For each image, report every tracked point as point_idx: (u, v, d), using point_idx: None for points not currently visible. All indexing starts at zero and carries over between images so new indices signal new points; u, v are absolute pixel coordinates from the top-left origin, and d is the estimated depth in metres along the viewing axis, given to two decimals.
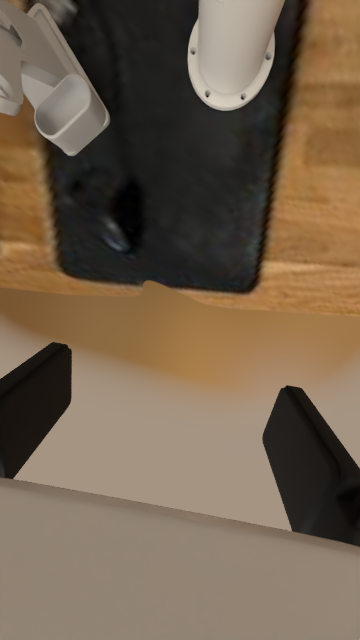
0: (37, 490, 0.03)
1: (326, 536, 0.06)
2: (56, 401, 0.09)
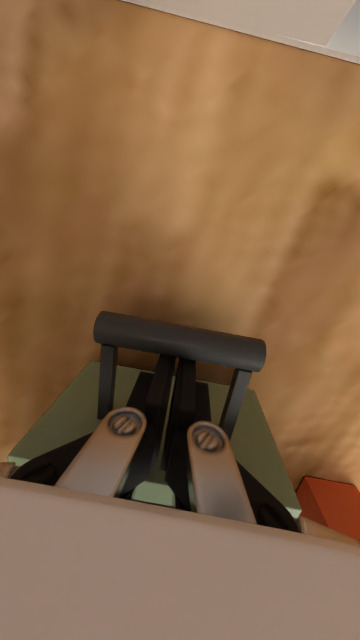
0: (37, 490, 0.03)
1: (168, 462, 0.07)
2: None
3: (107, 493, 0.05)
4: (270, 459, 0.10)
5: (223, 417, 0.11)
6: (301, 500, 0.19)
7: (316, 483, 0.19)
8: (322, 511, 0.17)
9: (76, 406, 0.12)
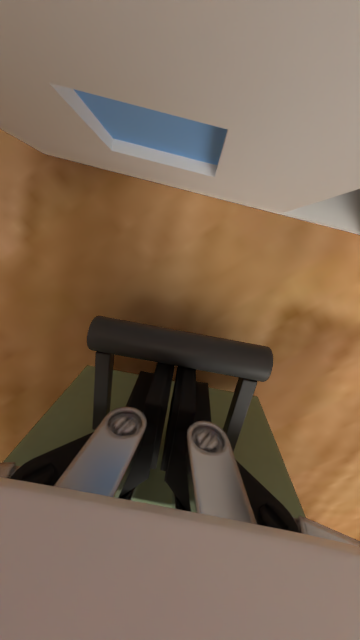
0: (37, 490, 0.03)
1: (168, 462, 0.07)
2: None
3: (107, 493, 0.05)
4: (276, 473, 0.10)
5: (226, 428, 0.10)
6: None
7: None
8: None
9: (70, 415, 0.11)
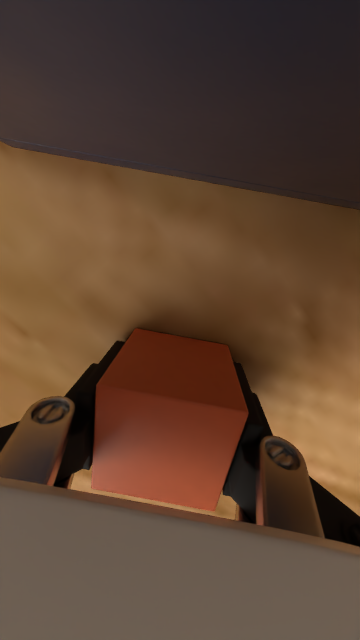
0: (37, 490, 0.03)
1: (234, 477, 0.07)
2: None
3: (43, 475, 0.05)
4: None
5: None
6: (188, 345, 0.10)
7: None
8: (238, 380, 0.08)
9: None
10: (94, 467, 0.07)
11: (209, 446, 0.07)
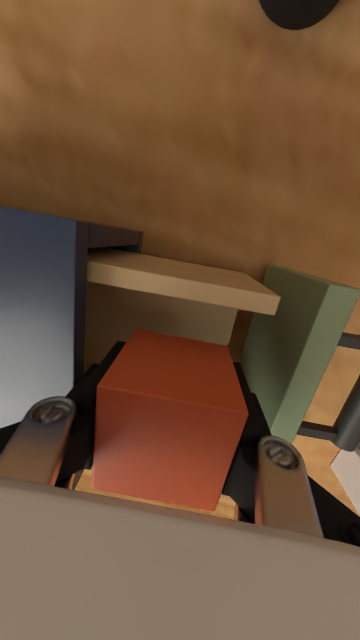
0: (37, 490, 0.03)
1: (233, 476, 0.07)
2: None
3: (44, 475, 0.05)
4: None
5: None
6: (189, 346, 0.10)
7: None
8: (238, 381, 0.08)
9: None
10: (95, 468, 0.07)
11: (209, 447, 0.07)
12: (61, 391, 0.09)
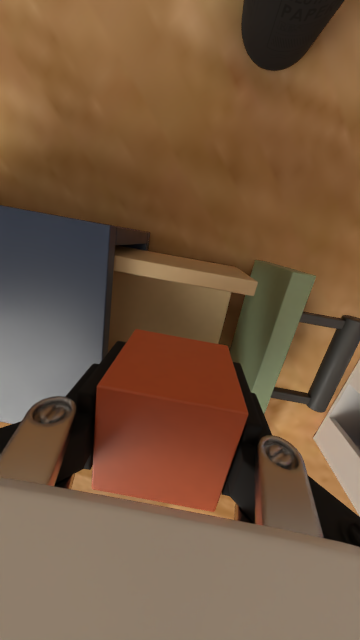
0: (37, 490, 0.03)
1: (233, 476, 0.07)
2: None
3: (44, 475, 0.05)
4: None
5: (273, 389, 0.16)
6: (189, 346, 0.10)
7: None
8: (238, 381, 0.08)
9: None
10: (94, 468, 0.07)
11: (209, 447, 0.07)
12: (92, 354, 0.12)
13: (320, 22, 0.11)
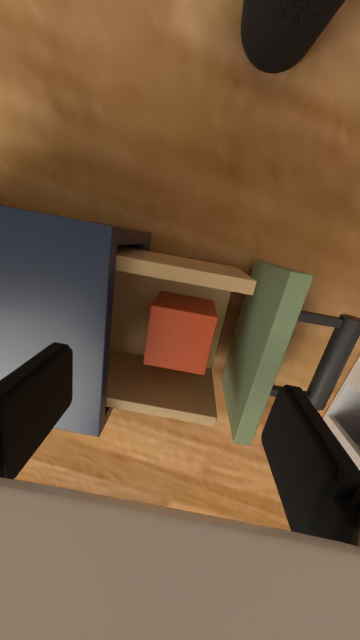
0: (37, 490, 0.03)
1: (324, 534, 0.06)
2: (57, 401, 0.09)
3: None
4: None
5: (272, 387, 0.17)
6: (191, 298, 0.17)
7: None
8: None
9: None
10: (146, 350, 0.15)
11: (201, 336, 0.15)
12: (94, 352, 0.12)
13: (318, 26, 0.12)
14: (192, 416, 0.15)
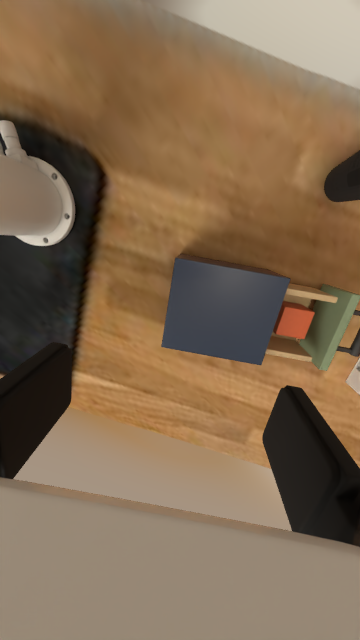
0: (37, 490, 0.03)
1: (326, 536, 0.06)
2: (56, 401, 0.09)
3: None
4: None
5: None
6: (292, 303, 0.36)
7: None
8: (309, 309, 0.34)
9: None
10: (278, 327, 0.33)
11: (306, 320, 0.33)
12: (270, 326, 0.30)
13: None
14: (301, 356, 0.33)
